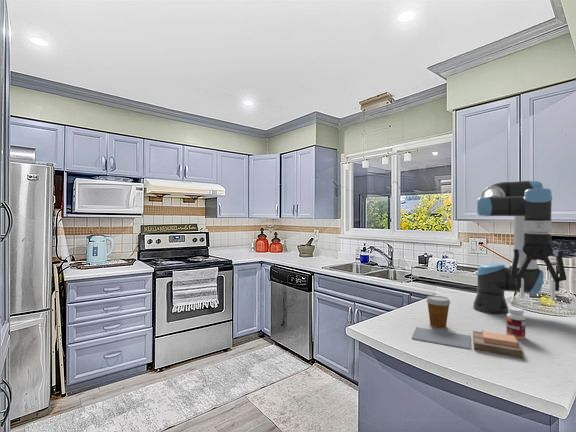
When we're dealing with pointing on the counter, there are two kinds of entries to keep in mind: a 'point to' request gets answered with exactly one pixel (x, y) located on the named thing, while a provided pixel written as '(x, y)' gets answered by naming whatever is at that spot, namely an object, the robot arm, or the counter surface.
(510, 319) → the pill bottle
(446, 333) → the mat
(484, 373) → the counter surface
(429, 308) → the disposable coffee cup
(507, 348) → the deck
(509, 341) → the card
